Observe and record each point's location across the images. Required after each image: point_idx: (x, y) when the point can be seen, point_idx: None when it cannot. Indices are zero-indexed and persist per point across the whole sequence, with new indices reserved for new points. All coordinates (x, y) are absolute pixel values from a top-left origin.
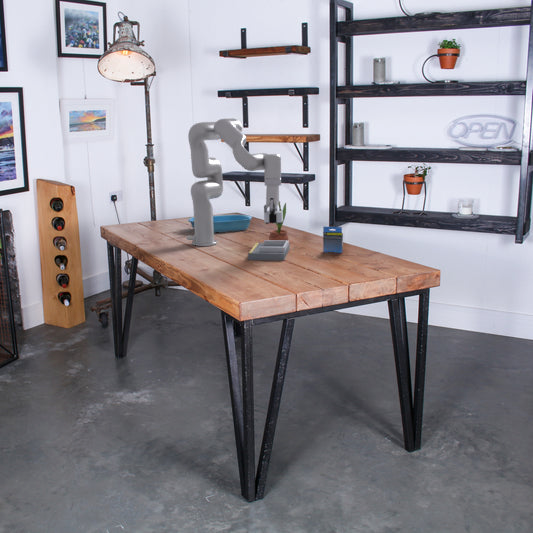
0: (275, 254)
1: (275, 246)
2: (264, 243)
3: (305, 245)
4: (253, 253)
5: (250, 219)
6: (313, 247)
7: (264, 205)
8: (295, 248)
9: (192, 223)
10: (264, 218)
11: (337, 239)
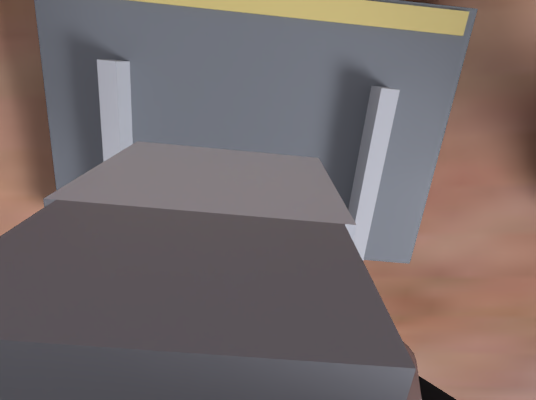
0: (57, 180)
1: None
2: (373, 89)
3: (483, 324)
4: (35, 10)
5: None
6: (419, 358)
7: (37, 347)
8: (411, 274)
9: None
10: (109, 163)
11: None
